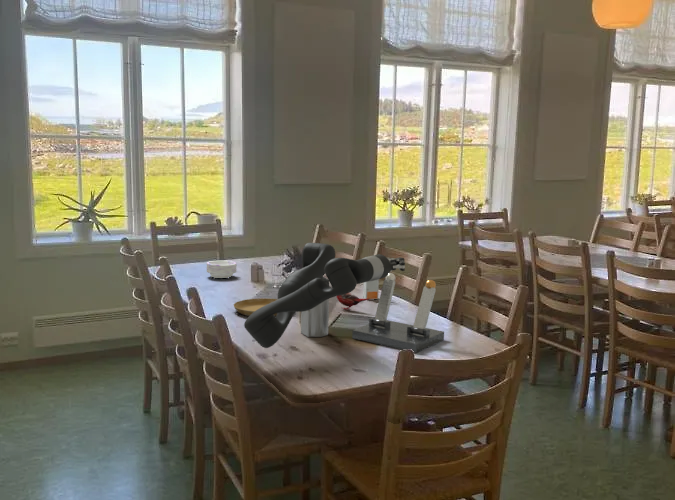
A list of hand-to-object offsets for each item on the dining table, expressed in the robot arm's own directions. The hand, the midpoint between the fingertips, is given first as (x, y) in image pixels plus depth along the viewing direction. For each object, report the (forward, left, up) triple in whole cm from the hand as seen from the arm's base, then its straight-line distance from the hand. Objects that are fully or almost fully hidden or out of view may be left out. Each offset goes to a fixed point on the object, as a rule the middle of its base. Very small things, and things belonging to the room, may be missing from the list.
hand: (402, 260), depth 210 cm
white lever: (+5, +20, -28) cm, 35 cm away
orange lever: (+11, +6, -28) cm, 30 cm away
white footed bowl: (-13, +143, -31) cm, 147 cm away
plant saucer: (-20, +69, -32) cm, 79 cm away
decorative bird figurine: (+14, +56, -31) cm, 66 cm away
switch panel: (+9, +13, -31) cm, 35 cm away
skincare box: (+33, +71, -31) cm, 84 cm away
